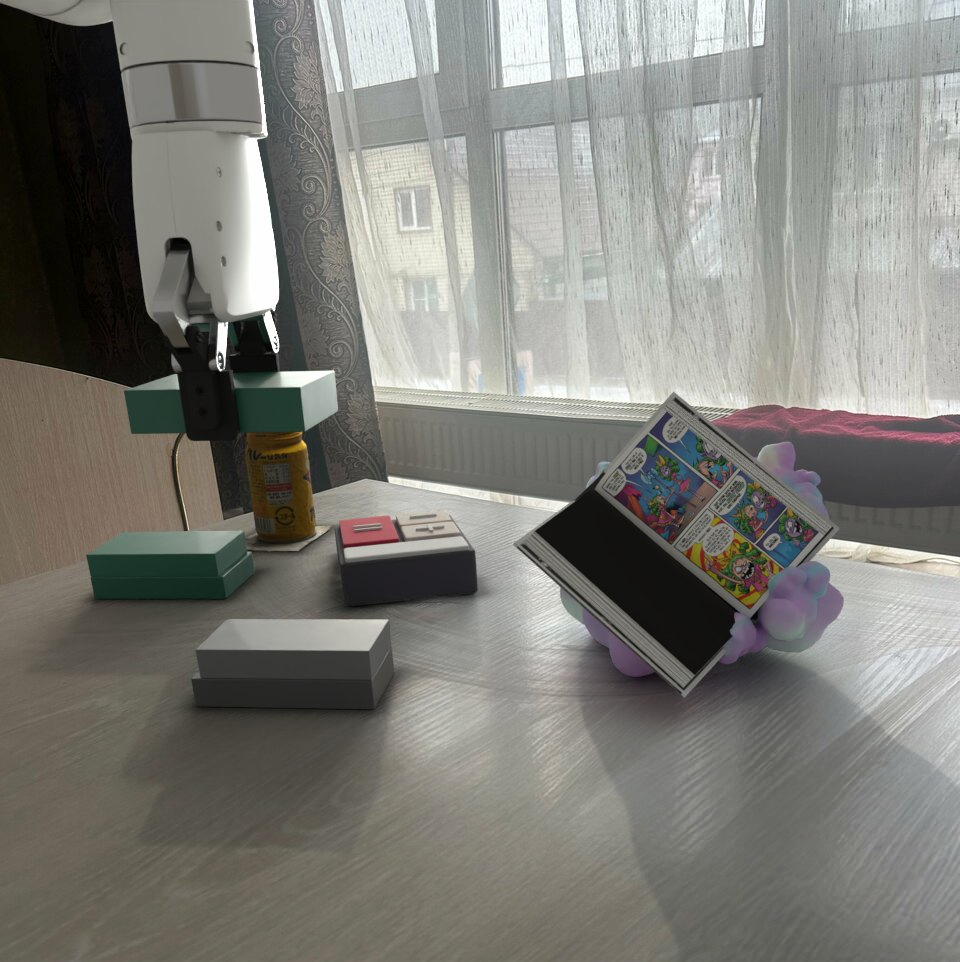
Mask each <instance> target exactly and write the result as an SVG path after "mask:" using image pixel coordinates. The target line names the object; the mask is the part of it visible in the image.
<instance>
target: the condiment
mask: <svg viewBox="0 0 960 962" xmlns="http://www.w3.org/2000/svg"><path fill="white" fill-rule="evenodd" d="M302 438H303V432H254V433H246V439H245V440H246V442H247V446H246V448H245V451H244V454H245V462H246V463H245V464H246V469H247V470H246V471H247V476H248V484H249V491H250V498H251V506H252V512H253V521H254V529H255V533H252V534H251V535H249V536H245V540H246V547H247V551H249V550H252V551H267V552H268V553H270V552H275V551H278V552H279V551H280V552H288V551H289V552H290V551H291V552H299V551H300V550H301V549H302V548H305V546H306V545H308V544H310V543H311V542H313V541H314V540H316V539H318V538H319V537H321V536H322V535H323V534H324V533H326V532H327V531H329V530H330V529H332V525H317V521H316V511H315V504H314V503H315V502H314V494H313V486H312V484H313V483H312V477H311V469H310V460H309V453H308V452H309V451H308V447H307V443H306V442H305V441H304V440H303V439H302Z"/></svg>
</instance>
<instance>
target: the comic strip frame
mask: <svg viewBox="0 0 960 962" xmlns="http://www.w3.org/2000/svg"><path fill="white" fill-rule="evenodd" d="M796 457H797V454H796V451H795V447H794V444H793V443H792V442H791V441H782V442H778V443H771V444H766V445H764V446H763V447H762V448H761V450H760V451H759V453H758V456H755V457H754V456H753V455H751V454H750V453H749V452H748V451H746V450H745V449H744V448H743V447H742V446H740V445H739V444H738V443H737V442H735V440H734V439H732V438H731V437H730V436H729V435H728V434H726V433H725V432H724V431H723V430H721V429H720V428H719V427H717V426H716V425H715V424H714V423H713V422H712V421H710V420H709V419H708V418H707V417H705V416H704V415H703V414H702V413H700V412H699V411H698V410H697V409H696V408H695V407H693V406H692V405H691V404H690V403H689V402H687V401H686V400H685V399H683V397H681V396H680V395H679V394H678V393H676V392H675V391H672V392H671V394H670V395H669V396H668V397H667V399H665V401H663V402H662V404H661V405H660V406H659V407H658V408H657V410H656V411H654V413H653V414H652V415H651V416H650V417H649V419H648V420H647V421H646V422H645V423H644V424H643V426H642V427H641V428H640V429H639V430H638V431H637V432H636V433H635V435H633V437H632V438H631V439H630V440H629V441H628V442H627V444H626V445H625V446H624V447H623V448H622V449H621V450H620V452H619V453H618V454H617V455H616V457H615V458H613V460H612V461H611V462H610V461H608V460H605V461H600V462H599V463H598V464H597V467H596V472H595V475H593V476H592V477H590V478H589V480H588V482H587V483H586V486H585V490H583V491H582V492H581V493H580V494H579V495H578V496H577V497H576V498H575V499H572V500H571V501H570V502H569V503H567V504H566V505H565V506H563V507H562V508H560V509H559V510H558V511H556V512H554V514H552V515H551V516H549V517H548V518H546V519H545V520H544V521H542V522H541V523H539V524H538V525H537V526H536V527H534V528H533V529H531V530H530V531H528V532H527V533H525V534H524V535H523V536H521V537H520V538H518V539H517V540H515V541H514V542H513V544H512V545H513V546H514V547H515V548H516V549H517V550H518V551H519V552H521V553H522V554H523V555H524V556H525V557H526V558H527V559H528V560H529V561H531V563H533V564H534V565H535V566H536V567H537V568H538V569H539V570H540V571H542V572H543V573H544V574H545V575H546V576H547V577H548V578H549V579H551V580H552V581H553V582H554V583H555V584H556V585H557V586H559V597H560V598H559V599H560V601H561V604H562V606H563V608H564V609H565V611H566V612H567V613H568V614H569V615H570V616H571V617H572V618H573V619H574V620H576V621H577V622H579V623H581V624H582V625H584V627H585V629H586V630H587V632H588V633H589V636H591V637H592V638H593V639H594V640H595V641H596V642H598V643H599V644H600V645H603V646H604V647H606V648H608V649H609V656H610V659H611V662H612V664H613V665H614V667H615V668H616V669H617V670H618V671H619V672H620V673H622V674H624V675H625V676H628V677H631V678H637V677H639V678H640V677H644V676H649V675H651V674H654V673H655V674H657V675H658V676H659V677H660V678H661V679H662V680H663V681H665V682H666V683H667V684H668V685H669V686H670V687H671V688H672V689H674V690H675V691H676V692H677V693H678V694H679V695H680V696H682V698H686V697H687V696H688V695H689V693H691V692H692V690H693V689H694V688H695V687H696V686H697V685H698V684H699V683H700V681H702V679H704V677H705V676H706V675H707V674H708V673H709V672H710V671H711V670H712V668H713V667H714V666H715V665H716V664H717V663H718V662H719V663H721V664H723V665H730V664H733V663H736V662H737V660H738V659H739V658H741V657H743V656H746V655H747V654H754V653H758V652H761V651H763V650H764V649H766V648H768V649H771V650H775V651H777V652H778V651H779V652H785V653H799V654H800V653H801V652H805V651H807V650H809V649H810V648H812V647H813V646H815V644H816V643H817V642H818V641H820V640H821V638H822V636H823V634H824V632H825V631H826V629H827V628H828V627H829V626H830V625H831V624H832V623H833V622H834V621H836V620H837V619H838V617H839V615H840V614H841V612H842V610H843V608H844V601H845V597H844V596H843V594H842V593H841V591H840V590H839V589H838V588H836V587H835V586H834V585H832V584H831V582H830V580H831V572H830V569H829V568H828V567H827V566H826V565H825V564H823V563H822V562H820V561H817V560H813V559H814V558H815V556H816V555H817V554H818V553H819V552H820V551H821V550H822V549H823V548H824V547H825V546H826V545H827V543H829V541H830V540H831V539H832V538H833V537H834V536H835V535H836V533H838V532H839V530H840V529H841V528H840V527H839V526H837V525H836V524H835V523H834V522H833V521H832V520H830V515H829V513H828V510H827V507H826V506H825V505H824V502H823V494H822V493H821V491H820V490H819V488H818V485H820V483H821V477H820V475H818V473H817V472H815V471H808V470H806V469H803V468H802V469H798V470H796V471H795V469H794V468H795V467H794V465H795V462H796V459H797V458H796Z"/></svg>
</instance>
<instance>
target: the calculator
mask: <svg viewBox="0 0 960 962" xmlns="http://www.w3.org/2000/svg"><path fill="white" fill-rule="evenodd" d="M338 523H339V524H338V525H335V526H334V536H335V545H336V546H335V547H336V555H337V561H338V566H339V567H338V568H339V575H340V580H341V581H340V582H341V590H342V595H343V603H344V606H346V607H356V606H357V607H358V606H364V605H365V606H366V605H373V604H383V603H393V602H401V601H402V602H403V601H411V600H419V599H420V600H421V599H428V598H437V597H446V596H456V595H465V594H473V593H476V592H478V589H479V586H478V572H477V571H478V570H477V556H476V549H475V548H474V547H473V546H472V544H471V543H470V541H469V540H468V538H467V537H466V535H465V534H464V532H463V531H462V530H461V528H460V526H458V524H457V523H456V521H455V519H454V518H453V517H452V515H451V514H449V513H448V512H447V510H445V509H439V510H429V511H418V512H408V513H399V514H396V515H395V519H392V518H391V516H390V515H379V516H377V515H376V516H369V517H368V516H366V517H358V518H348V519H340V520H339V522H338Z"/></svg>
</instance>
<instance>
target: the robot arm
mask: <svg viewBox="0 0 960 962" xmlns="http://www.w3.org/2000/svg"><path fill="white" fill-rule="evenodd" d="M253 3H254V2H253V0H0V4H3V5H6V6H9V7H12V8H15V9H18V10H21V11H24V12H26V13H29V14H32V15H34V16H37V17H40V18H44V19H48V20H50V21H53V22H57V23H60V24H64V25H68V26H77V27H89V26H96V25H97V26H98V25H101V24H107V23H110V22H112V26H113V31H114V38H115V44H116V50H117V57H118V63H119V69H120V72H121V73H120V76H121V82H122V88H123V89H122V90H123V94H124V101H125V108H126V114H127V120H128V126H129V131H130V132H129V133H130V139H131V179H132V181H131V182H132V183H131V185H132V198H133V211H134V222H135V231H136V241H137V252H138V259H139V267H140V274H141V283H142V289H143V290H142V291H143V296H144V297H143V298H144V303H145V308H146V309H145V310H146V312H147V314H148V316H149V317H150V319H152V321H154V322H155V323H156V324H158V326H159V328H160V330H161V331H162V333H163V342H164V343H165V345H166V347H167V348H168V350H169V351H170V354H171V367H172V369H173V372H174V373H175V374H177V377H178V383H179V390H180V396H181V403H182V409H183V416H184V422H185V429H186V433H185V435H186V438H187V439H188V441H191V442H225V441H226V442H227V441H228V442H229V441H231V442H232V441H235V440H237V439H239V438H240V437H241V435H242V434H241V431H240V424H239V416H238V409H237V401H236V394H235V386H234V379H233V373H247V372H281V366H280V357H279V353H278V352H279V350H280V349H279V348H280V343H279V337H278V334H277V331H276V324H277V322H278V319H277V318H278V314H277V312H276V311H275V310H276V305H277V304H278V302H279V299H280V298H279V297H280V288H279V286H280V285H279V284H280V283H279V271H278V261H277V254H276V253H277V252H276V245H275V238H274V231H273V230H274V229H273V224H272V217H271V210H270V204H269V199H268V193H267V187H266V181H265V176H264V171H263V165H262V160H261V156H260V155H261V154H260V150H259V146H258V145H259V144H258V140H262V139H265V138H268V130H267V129H268V128H267V122H266V113H265V112H266V111H265V104H264V103H265V102H264V94H263V86H262V85H263V84H262V77H261V66H260V57H259V47H258V40H257V31H256V23H255V13H254V4H253ZM241 322H243V326H242V323H241ZM203 332H204V333H205V332H206V333H207V332H209V334H208V341H207V340H206V337H205V336H204V335H203ZM228 337H229V341H230V343H231V346H232V348H233V351H234V354H229V355H228V360H229V369H225V368H226V357H227V338H228Z"/></svg>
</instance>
